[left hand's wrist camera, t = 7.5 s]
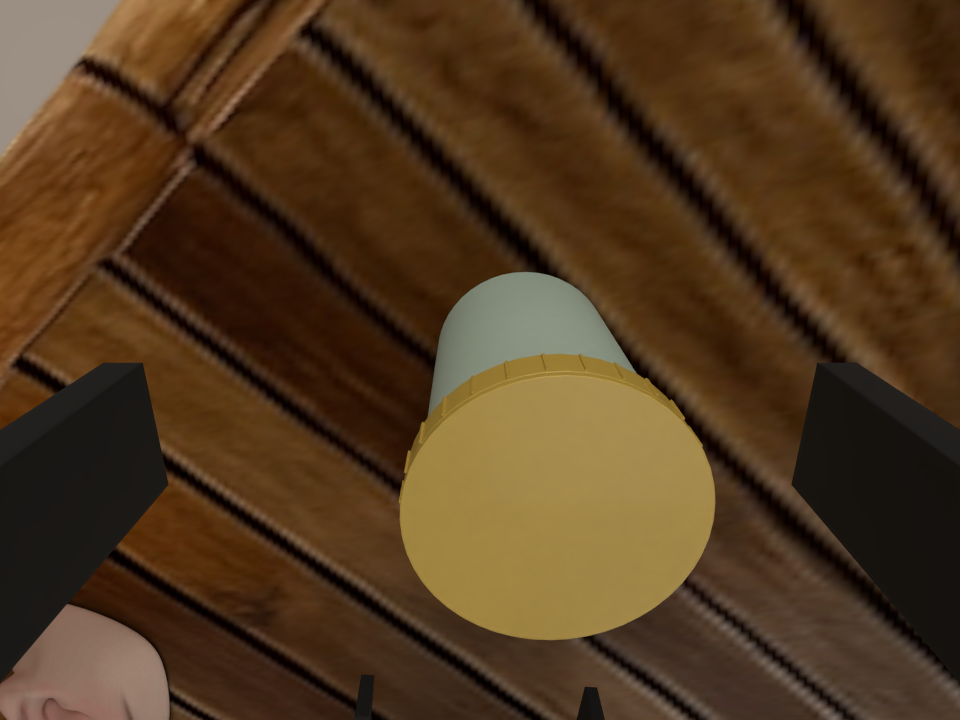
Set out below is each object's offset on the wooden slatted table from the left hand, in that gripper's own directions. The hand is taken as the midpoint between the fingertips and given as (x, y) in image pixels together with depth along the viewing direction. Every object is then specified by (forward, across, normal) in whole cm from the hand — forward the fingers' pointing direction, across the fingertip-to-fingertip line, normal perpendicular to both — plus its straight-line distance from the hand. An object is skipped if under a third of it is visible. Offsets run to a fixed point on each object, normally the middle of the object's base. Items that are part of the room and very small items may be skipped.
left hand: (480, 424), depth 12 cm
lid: (+8, -3, +7) cm, 11 cm away
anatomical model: (+23, +28, +32) cm, 49 cm away
